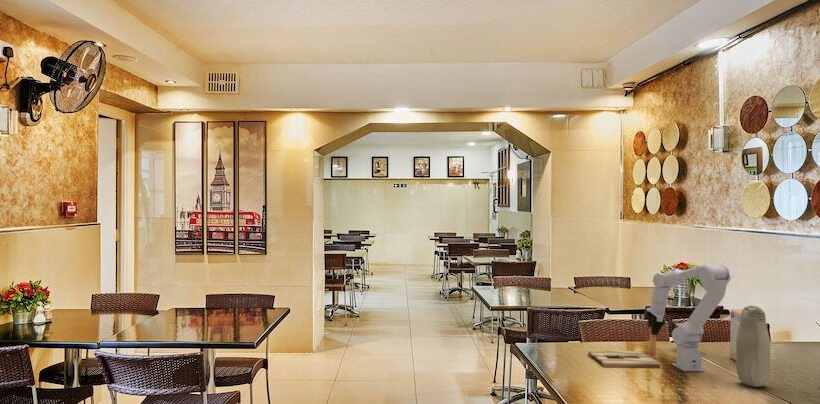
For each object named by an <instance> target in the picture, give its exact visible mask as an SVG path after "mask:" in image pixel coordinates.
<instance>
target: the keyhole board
mask: <svg viewBox="0 0 820 404" xmlns="http://www.w3.org/2000/svg"><path fill="white" fill-rule="evenodd" d="M587 351H588V352H587V356H588V357H590V358H595V359H597V360H598V361H599V362H601V366H602V367H603V368H618V369H619V368H622V369H623V368H624V369H626V368H627V369H633V368H634V369H661V363H660V362H659V361H658V360H656V359H655V358H651V357H649V356H647V354H645V353H643V352H642V351H640V350H639V351H638V350H637V351H636V350H635V351H634V350H632V351H631V350H630V351H629V350H587Z"/></svg>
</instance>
